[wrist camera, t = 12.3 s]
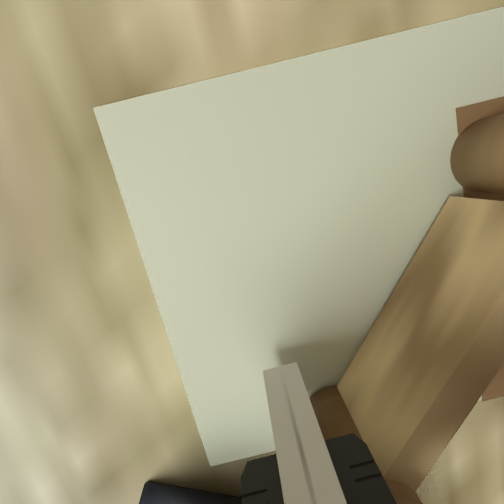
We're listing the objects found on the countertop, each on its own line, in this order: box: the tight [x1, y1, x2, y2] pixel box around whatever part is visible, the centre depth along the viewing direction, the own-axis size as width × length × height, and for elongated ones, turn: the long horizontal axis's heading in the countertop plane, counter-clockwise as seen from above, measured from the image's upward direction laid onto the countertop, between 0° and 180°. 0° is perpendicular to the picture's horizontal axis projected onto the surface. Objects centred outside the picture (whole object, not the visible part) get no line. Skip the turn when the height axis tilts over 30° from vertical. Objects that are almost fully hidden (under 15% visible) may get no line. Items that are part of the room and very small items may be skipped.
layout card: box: [93, 7, 504, 467], centre depth 14 cm, size 28×16×1 cm, turn 104°
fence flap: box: [309, 196, 504, 504], centre depth 11 cm, size 12×3×6 cm, turn 154°
